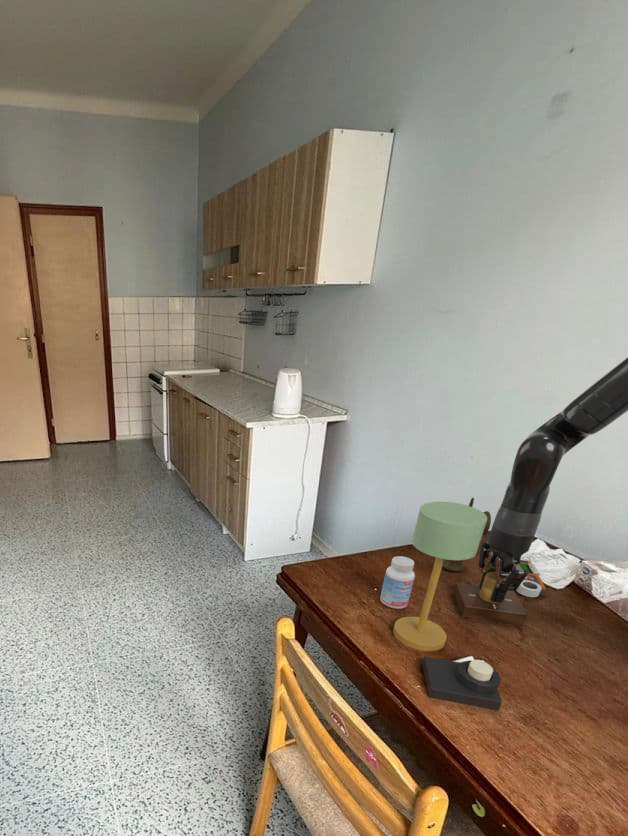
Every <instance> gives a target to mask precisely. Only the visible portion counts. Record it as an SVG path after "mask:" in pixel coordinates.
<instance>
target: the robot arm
mask: <svg viewBox="0 0 628 836" xmlns="http://www.w3.org/2000/svg"><path fill="white" fill-rule="evenodd" d="M627 412H628V356H627V357H626V358H625V359H623V360H622V361H621V362H620V363H619V364H618V363H617V365H616V366H614V367H613V368H612V369H610V370H609V371H608V372H607V373H606V374H604V375H603V376H602V377H600V378H599V379H598V380H596V382H594V383H593V384H591V386H589V387H588V388H587V389H585V390H584V391H583V392H582V393H580V394H579V395H578V396H577V397H576V398H574V399H573V400H572V401H571V402H570V403H569V404H568V405H566V406H565V407H564V409H562V410H561V411H560V412H559V413H557V414H556V415H554V416H553V417H551V418H550V419H549V420H547V421H546V422H544V423H543V424H541V425H540V426H539V427H537V429H535V430H534V431H532V432H531V433H530V434H529V435H528V436H527V437H526V438H524V440H523V441H522V442H521V443H520V445H519V447H518V448H517V451H516V454H515V458H514V460H513V461H514V462H513V464H512V469H511V474H510V481H509V482H508V484H507V487H506V489H505V491H504V495H503V499H502V501H501V504H500V506H499V508H498V509H497V512H496V514H495V517H494V520H493V523H492V525H491V526H492V527H491V530H490V532H489V535H488V538H487V541H486V542H481V543H480V544H481V546H480V552H479V559H478V568H479V569H481V574H482V576H481V579H480V582H479V585H478V586H479V588H480V589H481V587H482V584H483V581H484V578H485V575H486V573H488V572H495V577H497V582H496V587H495V589H494V592H493V594H492V597H491V601H492V602H498V603H500V602H502V601H503V600H504V598H505V595H506V593H507V591H514V592H517V591H516V590H517V588H518V587H519V586H520V584H521V583H522V582H523V580H524V579H525V577H526V576H527V575H528V571H527V570H522V569H521V567H520V560H522V559H521V558H522V556H523V555H524V554H526V553H528V552H529V551H530V549H531V546H532V543H533V541H534V538H535V535H536V533H537V531H538V528H539V526H540V522H541V518H542V513H543V511H544V508H545V505H546V503H547V500H548V498H549V495H550V490H551V489H550V488H551V487H550V486H551V484H552V482H553V479H554V477H555V474H556V472H557V469H558V468H559V465H560V464H561V461H562V459H563V457H564V456H565V455H566V454H567V453H568V452H569V451H571V450H572V449H573V448H575V447H576V446H577V445H579V444H580V443H582V442H583V441H584V440H585V439H587V438H588V437H590V436H591V435H595V434H597V433H598V432H600V431H602V430H603V429H605V428H606V427H608V426H609V425H611V424H612V423H613V422H615V421H616V420H617V419H618V418H620V417H621V416H623V415H624V414H626V413H627ZM503 572H509V573H508V574H504V573H503ZM504 578H506V581H505V582H504V583H502V580H503V579H504ZM511 584H512V585H511Z"/></svg>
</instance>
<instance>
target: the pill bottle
mask: <svg viewBox="0 0 628 836" xmlns="http://www.w3.org/2000/svg"><path fill="white" fill-rule="evenodd" d="M414 566H415V561H414V560H413V559H412V558H409V557H406V556H402V555H398V556H393V557H392V559H391V562H390V566H388V567H387V568H386V571H385V574H384V579H383V583H382V586H381V592H380V597H379V600H380V603H382V604H383V606H386V607H388V608H391V609H393V610H394V609H396V610H401V609H402V610H403V609H405V608H406V607H407V606H408V605H409V600H410V597H411V593H412V589H413V586H414V581H415V577H416V574H415V571H414V570H413V569H414V568H415V567H414Z"/></svg>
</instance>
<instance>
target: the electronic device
mask: <svg viewBox="0 0 628 836" xmlns="http://www.w3.org/2000/svg"><path fill="white" fill-rule="evenodd" d="M520 567H521V569H522V570H527V571H528V575H527V576H526V577H525V579H524V580H523V582H522V583H521V584H520V586H519V587H518V588H517V590H516V591H515V592H517V593H518V594H519V595H522V596H524V597H527V598H537V597H539V596H540V595H541V596H544V594H545V593H546V590H547V587H546V586H545V584H544V582H543V581H542V579H541V577H540V575H541V573H540V572H539V571H538V569H537V567H536V565H535V564H534V563H532V561H530V560H525V559H521V560H520ZM508 573H509V572H502V574H508ZM511 585H512V584H511Z"/></svg>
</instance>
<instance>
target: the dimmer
mask: <svg viewBox="0 0 628 836" xmlns="http://www.w3.org/2000/svg"><path fill="white" fill-rule="evenodd" d="M479 586H480V585H476V584H475V585H474V584H467V583H458V582H456V583H455V586H454V589H453V592H452V594H453V598H454V600H455V602H456V605H457V608H458V611H459V613H460V617H462V618H467V619H474V620H481V621H488V622H495V623H502V624H508V625H515V626H521V627H523V626H524V624H525V622H526V619H527V618H528V613H527V611H526V609H525V608H524V606H523V603H522V602H521V601H520V599H519V597H518V595H517V593H516V591H507V593H506V595H505V598H504V600H503V601H502V602H500V603H491V602H487V601H485V600H483V599H481V598H480V597H479V593H480V590H481V589H480V588H479Z"/></svg>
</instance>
